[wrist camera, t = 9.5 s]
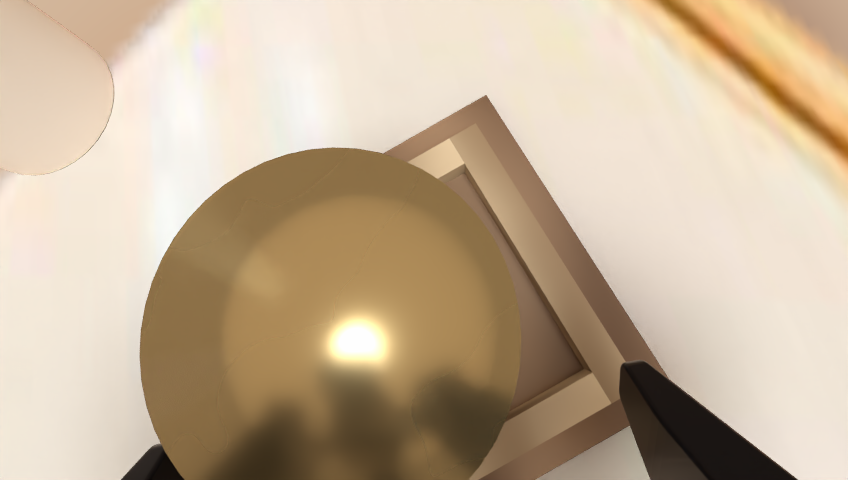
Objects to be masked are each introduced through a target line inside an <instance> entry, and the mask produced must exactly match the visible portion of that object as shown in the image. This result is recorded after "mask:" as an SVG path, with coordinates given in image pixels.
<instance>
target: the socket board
mask: <svg viewBox="0 0 848 480" xmlns="http://www.w3.org/2000/svg"><path fill="white" fill-rule="evenodd" d="M383 154H385V155H388V156H391V157H395V158H398V159H401V160H403V161H405V162H408V163H410V164H412V165H414V166H416V167H418V168H421V169H423V170H424V171H426V172H428V173H429V174H431V175H432V176H434V177H435V178H437V179H439V180H440V181H442V182H443V183H444V184H446V185H447V186H448V187H449V188H450V189H452V190H453V191H454V192H455V193H456V194H458V195H459V196H460V197H461V198H462V199H463V200H464V201H465V202H466V203H467V204H468V205H469V206H470V207H471V209H472V210H473V211H474V212H475V213H476V214H477V215H478V216H479V218H480V219H481V221H482V222H483V223H484V225H485V226H486V228H487V229H488V231H489V232H490V233H491V235H492V236H493V238H494V240H495V242H496V244H497V246H498V248H499V250H500V252H501V253H502V255H503V257H504V259H505V262H506V265H507V267H508V270H509V273H510V276H511V279H512V281H513V284H514V289H515V293H516V298H517V302H518V307H519V314H520V326H521V357H520V368H519V373H518V379H517V385H516V390H515V394H514V397H513V400H512V403H511V406H510V409H509V413H508V416H507V418H506V421H505V423H504V425H503V427H502V429H501V431H500V433H499V436H498V438H497V440H496V442H495V444H494V445H493V447H492V448H491V450H490V451H489V453H488V455H487V456H486V458H485V459H484V461H483V462H482V464H481V465H480V467H479V468H478V469H477V470H476V471H475V473H474V474H473V475H472V476H471V477H470V479H469V480H535V479H537V478H539V477H540V476H542V475H544V474H546V473H547V472H549V471H551V470H553V469H554V468H556V467H558V466H560V465H561V464H563V463H565V462H567V461H568V460H570V459H572V458H574V457H575V456H577V455H579V454H581V453H582V452H584V451H586V450H588V449H589V448H591V447H593V446H595V445H596V444H598V443H600V442H602V441H603V440H605V439H607V438H609V437H610V436H612V435H614V434H616V433H617V432H619V431H621V430H623V429H624V428H626V427H628V426H630V424H629V421H628V418H627V416H626V413H625V410H624V407H623V405H622V402H621V399H620V395H619V380H620V367H621V365H622V363H624V362H629V361H635V360H643V361H646V362H647V363H649V364H650V365H651V366H653V367H654V368H655V369H656V370H658V371H659V372H660V373H662V374H663V375H664V376H665V377H667V375H666V374H665V372H664V371H663V369H662V368H661V366H660V365H659V363H658V361H657V360H656V358H655V357H654V355H653V354H652V352H651V351H650V349H649V347H648V346H647V344H646V343H645V341H644V340H643V338H642V337H641V335H640V333H639V332H638V330H637V329H636V327H635V326H634V324H633V323H632V321H631V319H630V318H629V316H628V315H627V313H626V312H625V310H624V309H623V307H622V305H621V304H620V302H619V301H618V299H617V298H616V296H615V295H614V293H613V291H612V290H611V288H610V287H609V285H608V284H607V282H606V281H605V279H604V277H603V276H602V274H601V273H600V271H599V270H598V268H597V267H596V265H595V263H594V262H593V260H592V259H591V257H590V256H589V254H588V253H587V251H586V249H585V248H584V246H583V245H582V243H581V242H580V240H579V239H578V237H577V235H576V234H575V232H574V231H573V229H572V228H571V226H570V225H569V223H568V222H567V220H566V218H565V217H564V215H563V214H562V212H561V211H560V209H559V208H558V206H557V204H556V203H555V201H554V200H553V198H552V197H551V195H550V194H549V192H548V190H547V189H546V187H545V186H544V184H543V183H542V181H541V180H540V178H539V176H538V175H537V173H536V172H535V170H534V169H533V167H532V166H531V164H530V162H529V161H528V159H527V158H526V156H525V155H524V153H523V152H522V150H521V148H520V147H519V145H518V144H517V142H516V141H515V139H514V138H513V136H512V134H511V133H510V131H509V130H508V128H507V127H506V125H505V124H504V122H503V120H502V119H501V117H500V116H499V114H498V113H497V111H496V110H495V108H494V106H493V105H492V103H491V102H490V100H489V99H488V97H487V96H486V95H485V96H484V97H482V98H480V99H478V100H477V101H475V102H473V103H471V104H470V105H468V106H466V107H464V108H463V109H461V110H459V111H457V112H456V113H454V114H452V115H450V116H449V117H447V118H445V119H443V120H442V121H440V122H438V123H436V124H434V125H433V126H431V127H429V128H427V129H426V130H424V131H422V132H420V133H419V134H417V135H415V136H413V137H412V138H410V139H408V140H406V141H405V142H403V143H401V144H399V145H398V146H396V147H394V148H392V149H391V150H389V151H387V152H385V153H383ZM667 378H668V377H667Z"/></svg>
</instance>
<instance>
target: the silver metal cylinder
mask: <svg viewBox="0 0 848 480" xmlns="http://www.w3.org/2000/svg"><path fill="white" fill-rule="evenodd" d="M520 357H521V326H520V314H519V307H518V302H517V298H516V293H515V289H514V284H513V281H512V279H511V276H510V273H509V270H508V267H507V265H506V262H505V259H504V257H503V255H502V253H501V252H500V250H499V248H498V246H497V244H496V242H495V240H494V238H493V236H492V235H491V233H490V232H489V231H488V229H487V228H486V226H485V225H484V223H483V222H482V221H481V219H480V218H479V216H478V215H477V214H476V213H475V212H474V211H473V210H472V209H471V207H470V206H469V205H468V204H467V203H466V202H465V201H464V200H463V199H462V198H461V197H460V196H459V195H458V194H456V193H455V192H454V191H453V190H452V189H450V188H449V187H448V186H447V185H446V184H444V183H443V182H442V181H440V180H439V179H437V178H435V177H434V176H432V175H431V174H429V173H428V172H426V171H424V170H423V169H421V168H418V167H416V166H414V165H412V164H410V163H408V162H405V161H403V160H401V159H398V158H395V157H391V156H388V155H385V154H382V153H378V152H373V151H367V150H361V149H353V148H322V149H311V150H305V151H301V152H296V153H291V154H287V155H284V156H281V157H278V158H275V159H272V160H269V161H266V162H264V163H262V164H260V165H258V166H256V167H254V168H252V169H250V170H248V171H246V172H244V173H242V174H240V175H239V176H237V177H236V178H234V179H233V180H231V181H230V182H228V183H227V184H225V185H224V186H222V187H221V188H220V189H219V190H218V191H216V192H215V193H214V194H213V195H212V196H210V197H209V198H208V199H207V200H206V201H205V202H204V203H203V204H202V205H201V206H200V207H199V208H198V209H197V210H196V211H195V212H194V213H193V214H192V215H191V216H190V217H189V219H188V220H187V221H186V223H185V224H184V225H183V227H182V228H181V229H180V231H179V232H178V233H177V235H176V236H175V237H174V239H173V241H172V243H171V244H170V246H169V248H168V249H167V251H166V253H165V255H164V256H163V258H162V260H161V263H160V265H159V267H158V270H157V272H156V274H155V277H154V279H153V281H152V284H151V288H150V291H149V294H148V298H147V301H146V305H145V310H144V315H143V321H142V327H141V340H140V367H141V380H142V386H143V391H144V396H145V401H146V406H147V409H148V412H149V415H150V418H151V421H152V424H153V427H154V430H155V432H156V434H157V436H158V438H159V440H160V442H161V444H162V446H163V448H164V450H165V452H166V454H167V456H168V457H169V459H170V460H171V462H172V463H173V465H174V466H175V468H176V469H177V471H178V472H179V474H180V475H181V476H182V477H183V478H184V480H469V479H470V477H471V476H472V475H473V474H474V473H475V471H476V470H477V469H478V468H479V467H480V465H481V464H482V462H483V461H484V459H485V458H486V456H487V455H488V453H489V451H490V450H491V448H492V447H493V445H494V444H495V442H496V440H497V438H498V436H499V433H500V431H501V429H502V427H503V425H504V423H505V421H506V418H507V416H508V413H509V409H510V406H511V403H512V400H513V397H514V394H515V390H516V385H517V379H518V373H519V368H520Z"/></svg>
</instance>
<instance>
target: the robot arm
mask: <svg viewBox="0 0 848 480" xmlns="http://www.w3.org/2000/svg"><path fill="white" fill-rule="evenodd" d="M619 395H620V399H621V402H622V405H623V407H624V410H625V413H626V416H627V418H628V421H629V424H630V426H631V429H632V432H633V434H634V437H635V440H636V442H637V445H638V448H639V451H640V453H641V456H642V459H643V461H644V464H645V467H646V469H647V472H648V474H649V477H650V479H651V480H798V479H796V478H795V477H794V476H792V475H791V474H790V473H789V472H787V471H786V470H785V469H783V468H782V467H781V466H780V465H778V464H777V463H776V462H775V461H773V460H772V459H771V458H769V457H768V456H767V455H766V454H764V453H763V452H762V451H760V450H759V449H758V448H757V447H755V446H754V445H753V444H751V443H750V442H749V441H748V440H746V439H745V438H744V437H742V436H741V435H740V434H739V433H737V432H736V431H735V430H733V429H732V428H731V427H730V426H728V425H727V424H726V423H724V422H723V421H722V420H721V419H719V418H718V417H717V416H715V415H714V414H713V413H712V412H710V411H709V410H708V409H706V408H705V407H704V406H703V405H701V404H700V403H699V402H697V401H696V400H695V399H694V398H692V397H691V396H690V395H688V394H687V393H686V392H685V391H683V390H682V389H681V388H679V387H678V386H677V385H676V384H674V383H673V382H672V381H671V380H669V379H668V378H667V377H665V376H664V375H663V374H662V373H660V372H659V371H658V370H656V369H655V368H654V367H653V366H651V365H650V364H649V363H647V362H646V361H643V360H635V361H629V362H624V363H622V365H621V367H620V380H619ZM121 480H184V478H183V477H182V476H181V475H180V474H179V472H178V471H177V469H176V468H175V466H174V465H173V463H172V462H171V460H170V459H169V457H168V456H167V454H166V452H165V450H164V448H163V446H162V444H157V445H154V446H152V447H151V448H150V449H149V450H148V451H147V452H146V453H145V454H144V455H143V456H142V457H141V459H140V460H139V461H138V462H137V463H136V464H135V465H134V466H133V467H132V468H131V469H130V470H129V472H128V473H127V474H126V475H125V476H124V477H123V478H122V479H121Z"/></svg>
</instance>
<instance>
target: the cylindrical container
mask: <svg viewBox="0 0 848 480" xmlns="http://www.w3.org/2000/svg"><path fill="white" fill-rule="evenodd" d="M113 98H114V87H113V81H112V76H111V73H110V71H109V68H108V66H107V64H106V62H105V61H104V59H103V58H102V57H101V55H100V54H99V53H98V52H97V51H96V50H94V49H93V48H92V47H91V46H90V45H88V44H87V43H85V42H84V41H83V40H81V39H80V38H79V37H77V36H76V35H75V34H73V33H72V32H70V31H69V30H68V29H66V28H65V27H63V26H62V25H61V24H59V23H58V22H56V21H55V20H54V19H52V18H51V17H50V16H48V15H47V14H45V13H44V12H43V11H41V10H40V9H39V8H37V7H36V6H34V5H33V4H32V3H30V2H29V1H28V0H0V169H3V170H6V171H10V172H13V173H17V174H21V175H42V174H48V173H51V172H54V171H57V170H60V169H62V168H64V167H66V166H68V165H70V164H72V163H73V162H75V161H76V160H78V159H79V158H80V157H81V156H83V155H84V154H85V153H86V152H87V151H88V150H89V149H90V148H91V147H92V146H93V145H94V143H95V142H96V141H97V140H98V138H99V137H100V135H101V133H102V132H103V130H104V128H105V127H106V124H107V122H108V119H109V117H110V114H111V110H112V105H113Z"/></svg>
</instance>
